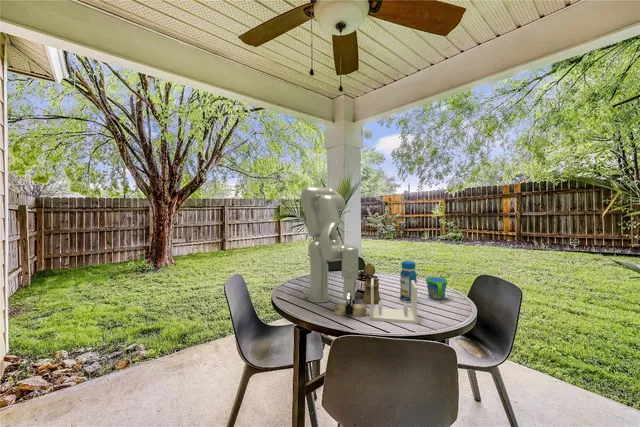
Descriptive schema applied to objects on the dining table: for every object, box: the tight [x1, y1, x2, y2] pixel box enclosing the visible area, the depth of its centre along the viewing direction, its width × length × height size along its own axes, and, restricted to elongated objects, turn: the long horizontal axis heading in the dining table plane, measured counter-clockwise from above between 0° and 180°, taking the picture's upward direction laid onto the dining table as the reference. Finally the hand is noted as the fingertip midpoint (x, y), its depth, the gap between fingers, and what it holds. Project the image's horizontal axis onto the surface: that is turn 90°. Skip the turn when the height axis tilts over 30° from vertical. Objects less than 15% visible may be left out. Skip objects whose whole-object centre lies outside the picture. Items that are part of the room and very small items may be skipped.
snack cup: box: [425, 276, 449, 301], centre depth 150 cm, size 16×10×10 cm
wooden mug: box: [362, 262, 382, 305], centre depth 148 cm, size 9×14×18 cm, turn 179°
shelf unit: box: [369, 278, 419, 325], centre depth 125 cm, size 20×12×15 cm, turn 78°
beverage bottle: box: [399, 260, 418, 303], centre depth 147 cm, size 8×8×20 cm
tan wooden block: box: [333, 302, 367, 318], centre depth 129 cm, size 14×5×4 cm, turn 78°
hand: (350, 310), depth 129 cm, fingers open, 9 cm apart
